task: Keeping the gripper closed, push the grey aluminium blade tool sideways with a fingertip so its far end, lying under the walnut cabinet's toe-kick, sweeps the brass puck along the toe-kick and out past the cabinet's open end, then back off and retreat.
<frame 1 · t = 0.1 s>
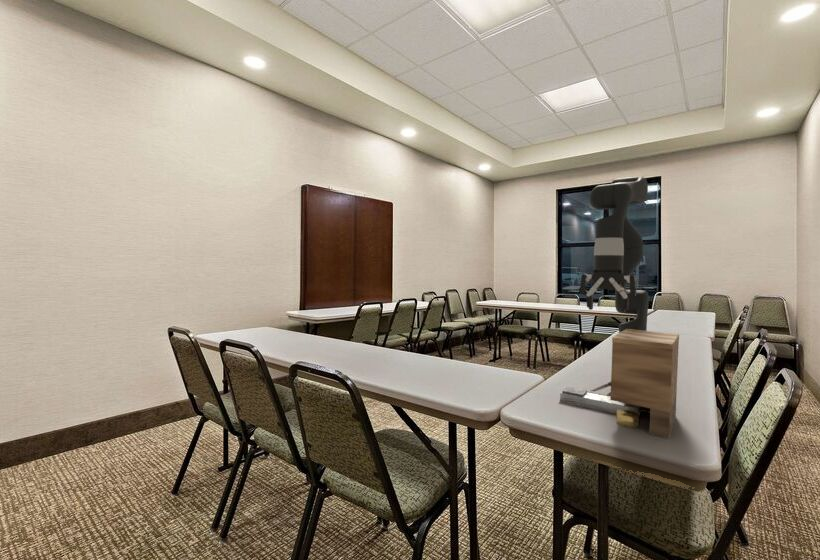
hand: (606, 310, 111), 29 cm above the table, fingers open, 8 cm apart
cabinet: (643, 420, 104), on the table
bar: (599, 407, 115), on the table
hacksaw: (614, 392, 129), on the table
puck: (627, 424, 102), on the table
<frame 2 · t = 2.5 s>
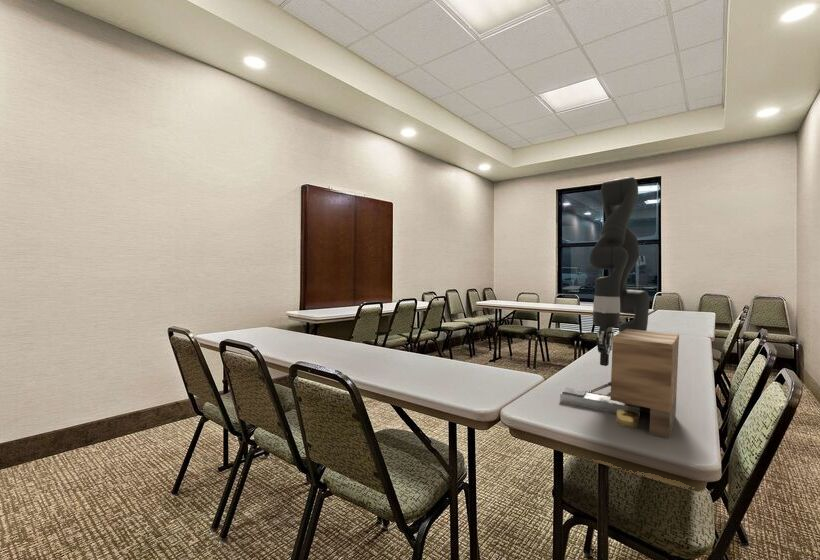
hand: (604, 365, 121), 11 cm above the table, fingers closed
nothing on the table moved.
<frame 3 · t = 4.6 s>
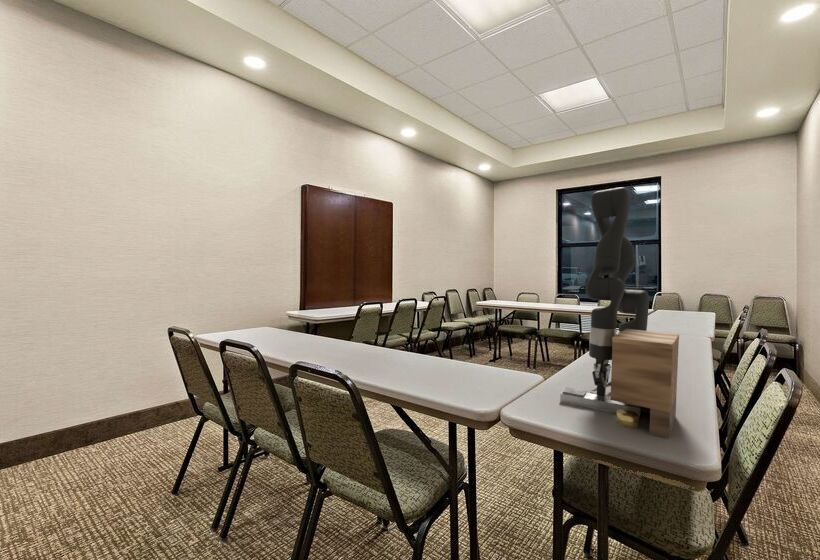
hand: (600, 398, 119), 1 cm above the table, fingers closed
bar: (599, 407, 115), on the table, touching gripper
everything else where it was.
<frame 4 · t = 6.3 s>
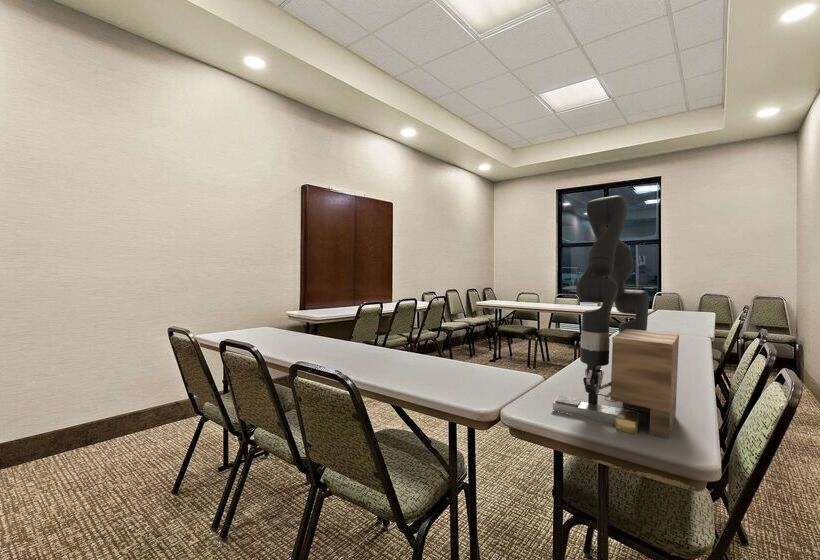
hand: (592, 405, 111), 1 cm above the table, fingers closed
bar: (594, 417, 107), on the table
puck: (626, 429, 98), on the table
everything else where it was.
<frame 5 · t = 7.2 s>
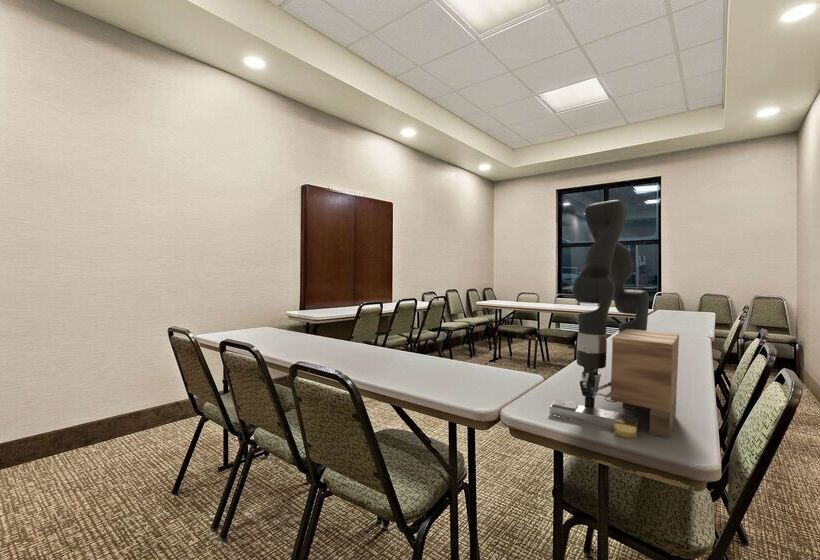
hand: (589, 409, 108), 1 cm above the table, fingers closed
bar: (592, 422, 104), on the table, touching gripper, puck
puck: (625, 435, 95), on the table, touching bar
everything else where it was.
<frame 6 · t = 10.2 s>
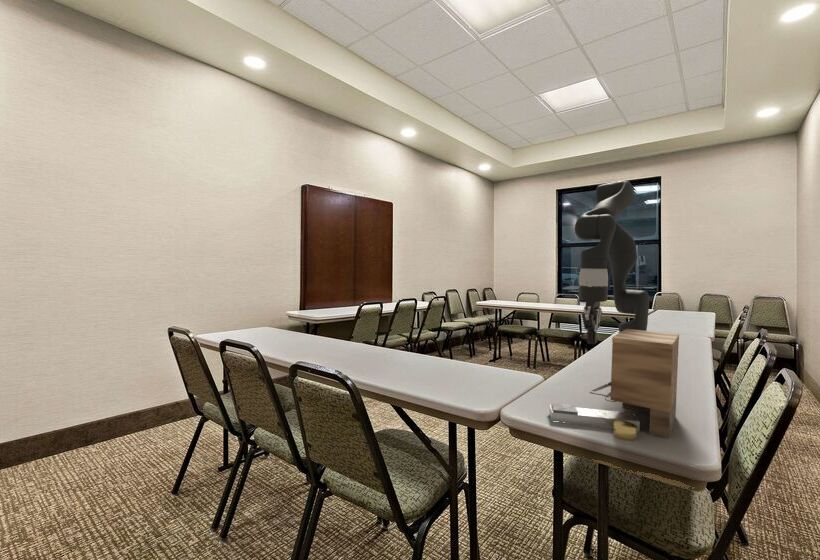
hand: (591, 343, 112), 19 cm above the table, fingers closed
bar: (591, 423, 103), on the table
puck: (624, 436, 94), on the table
everything else where it was.
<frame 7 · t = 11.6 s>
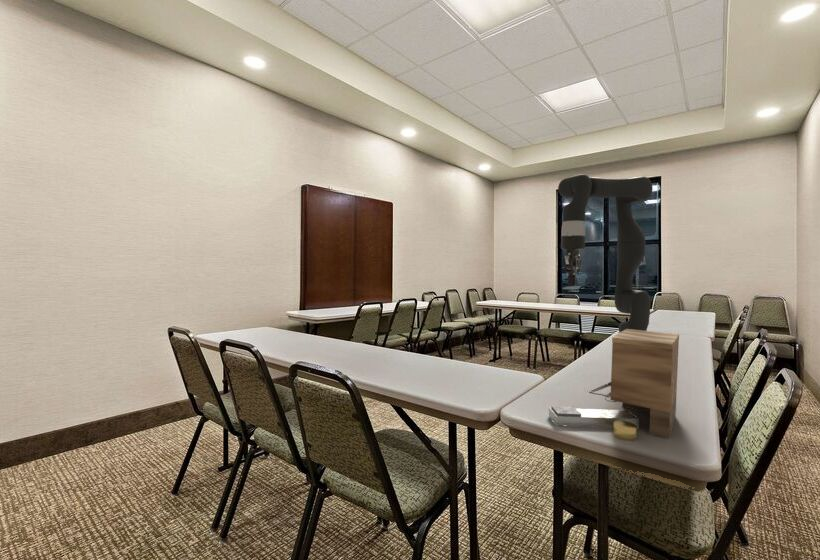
hand: (571, 286, 131), 35 cm above the table, fingers closed
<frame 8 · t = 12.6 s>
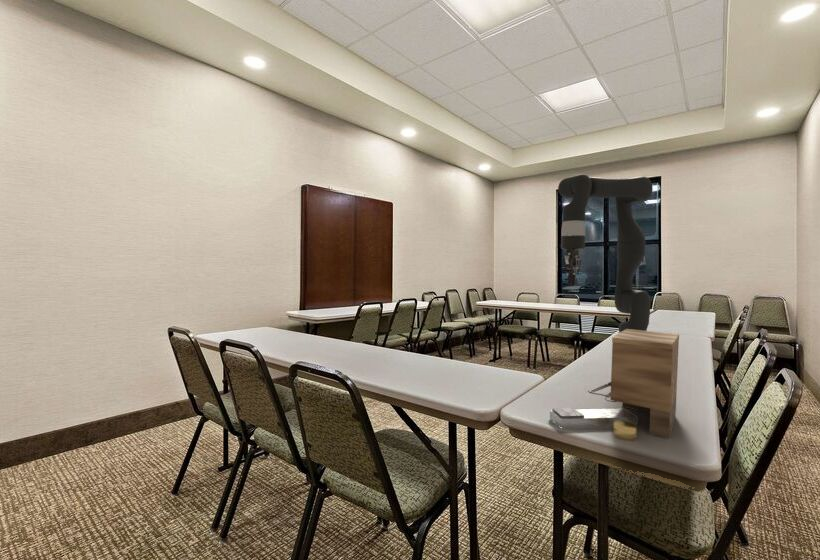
hand: (571, 286, 131), 35 cm above the table, fingers closed
at the end: puck inside the target area (1.2 cm from its centre), on the table; puck moved 9.0 cm from its start; puck touching table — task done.
